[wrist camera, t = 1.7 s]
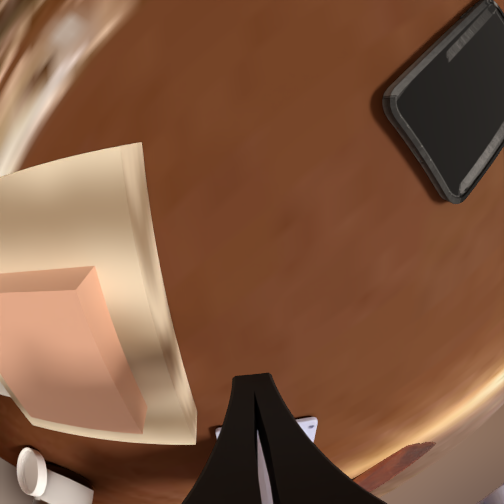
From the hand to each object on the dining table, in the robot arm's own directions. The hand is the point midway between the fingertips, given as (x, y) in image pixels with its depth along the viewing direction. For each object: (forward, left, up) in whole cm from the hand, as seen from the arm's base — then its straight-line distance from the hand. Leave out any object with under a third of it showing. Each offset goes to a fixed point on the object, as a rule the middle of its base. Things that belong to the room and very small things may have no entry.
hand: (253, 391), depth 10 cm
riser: (0, +11, -6) cm, 12 cm away
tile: (0, +10, -3) cm, 10 cm away
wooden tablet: (-36, -14, -7) cm, 39 cm away
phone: (+13, -15, -7) cm, 21 cm away
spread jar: (-26, +27, -6) cm, 38 cm away
